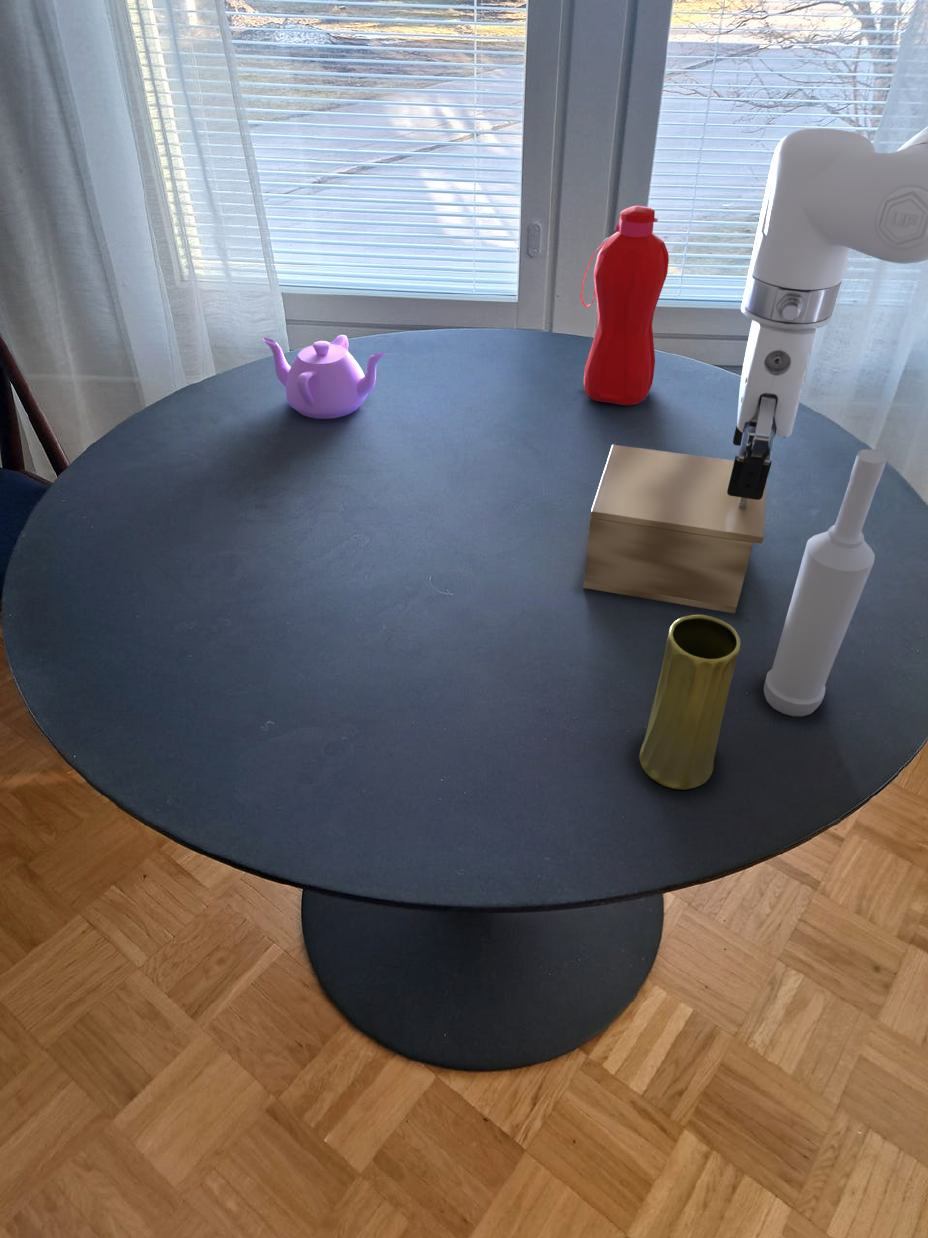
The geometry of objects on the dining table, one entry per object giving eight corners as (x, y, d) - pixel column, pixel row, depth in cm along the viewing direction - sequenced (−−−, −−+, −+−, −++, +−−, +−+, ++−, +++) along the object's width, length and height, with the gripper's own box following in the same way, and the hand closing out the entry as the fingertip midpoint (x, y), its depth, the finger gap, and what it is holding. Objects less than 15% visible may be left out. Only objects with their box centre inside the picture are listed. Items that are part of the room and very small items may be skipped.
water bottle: (581, 373, 131) (596, 193, 114) (654, 383, 128) (681, 201, 111) (566, 400, 124) (579, 214, 108) (642, 412, 121) (668, 222, 105)
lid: (765, 471, 92) (777, 425, 89) (761, 544, 82) (774, 495, 79) (611, 450, 96) (616, 405, 92) (590, 517, 86) (595, 470, 82)
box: (741, 538, 98) (757, 470, 92) (735, 613, 88) (753, 543, 83) (603, 517, 102) (611, 451, 96) (582, 587, 92) (590, 518, 86)
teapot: (271, 395, 126) (261, 335, 120) (362, 376, 130) (356, 318, 125) (295, 431, 118) (285, 369, 112) (390, 410, 122) (386, 349, 116)
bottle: (804, 674, 82) (886, 435, 65) (831, 714, 78) (925, 471, 61) (752, 681, 81) (821, 442, 65) (776, 722, 77) (857, 478, 61)
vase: (647, 727, 77) (671, 602, 67) (718, 746, 75) (752, 621, 66) (631, 778, 72) (655, 653, 63) (706, 800, 71) (741, 674, 61)
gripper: (839, 342, 67) (784, 524, 78) (832, 266, 80) (786, 433, 91) (739, 330, 69) (700, 511, 80) (748, 258, 81) (713, 423, 92)
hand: (746, 469), depth 85 cm, fingers open, 9 cm apart
